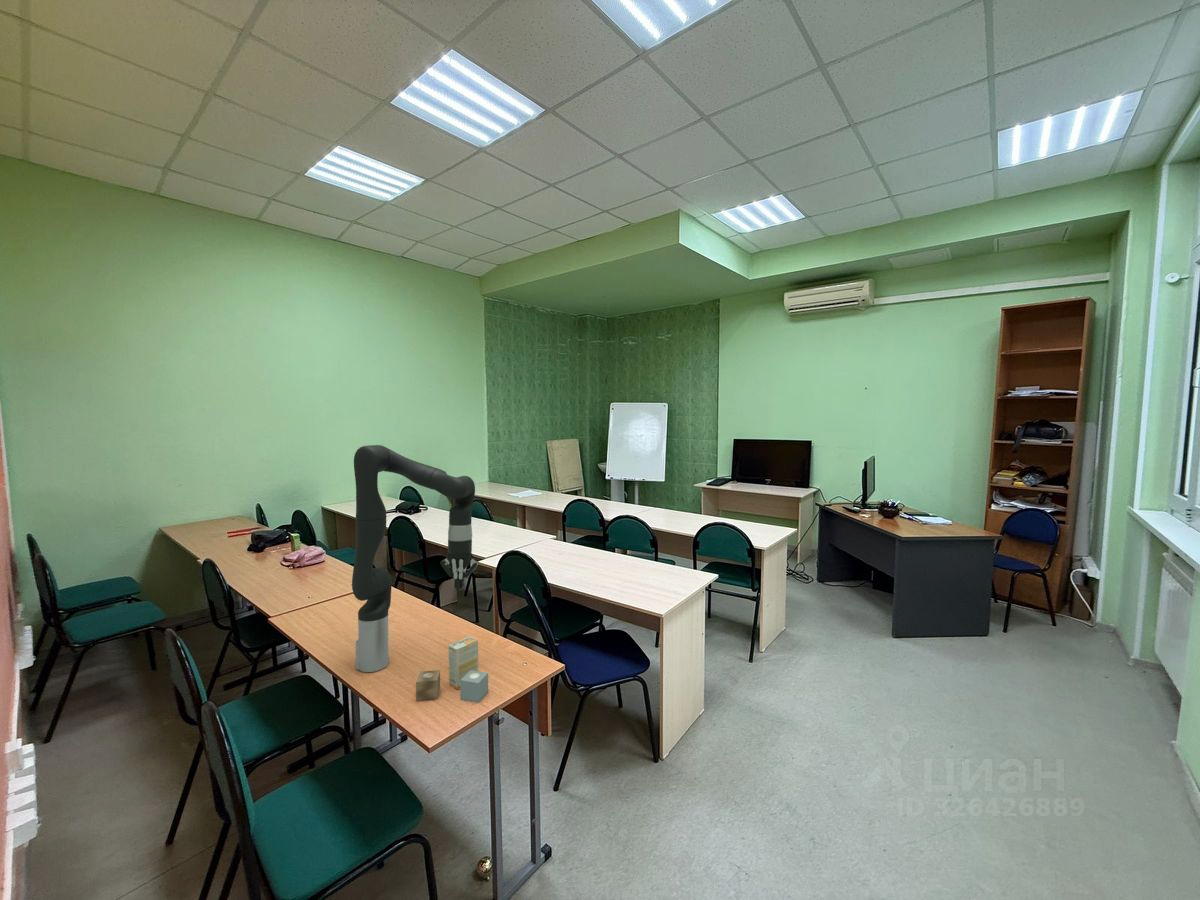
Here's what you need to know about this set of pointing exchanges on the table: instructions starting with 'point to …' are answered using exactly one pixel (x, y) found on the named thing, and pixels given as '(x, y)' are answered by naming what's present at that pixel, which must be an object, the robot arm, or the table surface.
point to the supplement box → (462, 659)
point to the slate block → (474, 686)
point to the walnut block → (428, 685)
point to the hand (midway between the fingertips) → (459, 589)
